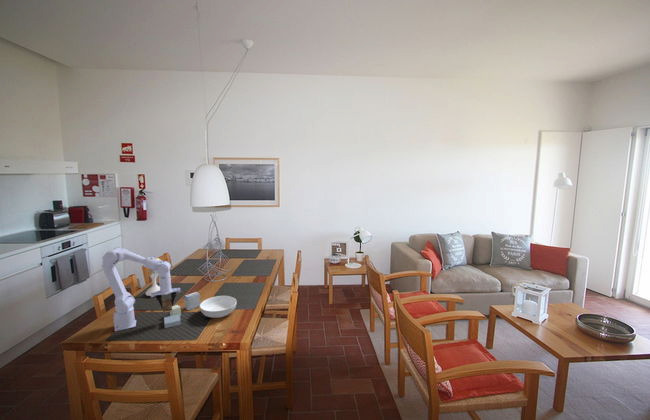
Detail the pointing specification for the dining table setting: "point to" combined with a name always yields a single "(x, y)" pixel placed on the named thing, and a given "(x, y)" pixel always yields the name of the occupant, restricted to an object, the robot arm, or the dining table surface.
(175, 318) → the base block
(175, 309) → the sage block
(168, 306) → the walnut block
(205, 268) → the dining table surface
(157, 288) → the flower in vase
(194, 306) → the medicine box
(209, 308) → the serving bowl
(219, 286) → the dining table surface
